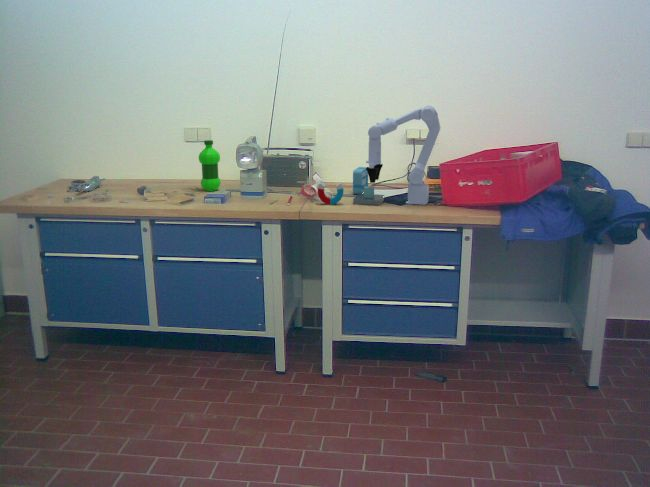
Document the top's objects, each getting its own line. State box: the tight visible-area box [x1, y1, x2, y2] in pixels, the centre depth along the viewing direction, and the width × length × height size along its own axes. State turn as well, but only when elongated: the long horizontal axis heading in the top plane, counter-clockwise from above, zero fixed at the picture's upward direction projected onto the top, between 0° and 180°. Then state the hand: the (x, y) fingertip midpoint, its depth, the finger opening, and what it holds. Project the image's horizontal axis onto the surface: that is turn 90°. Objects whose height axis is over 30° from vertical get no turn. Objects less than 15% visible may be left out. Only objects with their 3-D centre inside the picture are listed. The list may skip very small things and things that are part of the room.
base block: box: [352, 193, 385, 207], centre depth 303 cm, size 12×12×2 cm
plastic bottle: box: [198, 139, 222, 192], centre depth 327 cm, size 10×10×25 cm
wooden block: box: [364, 185, 375, 198], centre depth 302 cm, size 4×4×4 cm
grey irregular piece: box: [67, 175, 106, 196], centre depth 331 cm, size 6×28×16 cm
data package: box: [352, 166, 369, 195], centre depth 323 cm, size 12×4×12 cm, turn 161°
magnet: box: [317, 181, 344, 206], centre depth 298 cm, size 12×3×10 cm, turn 86°
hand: (374, 181), depth 304 cm, fingers open, 7 cm apart
